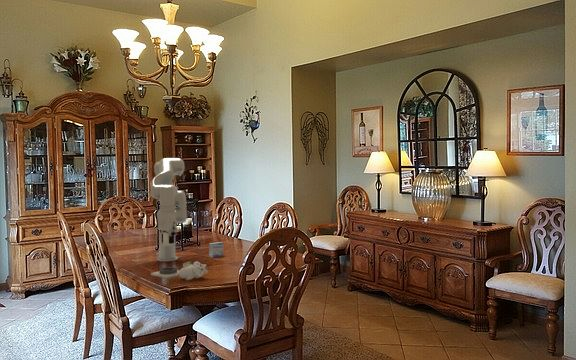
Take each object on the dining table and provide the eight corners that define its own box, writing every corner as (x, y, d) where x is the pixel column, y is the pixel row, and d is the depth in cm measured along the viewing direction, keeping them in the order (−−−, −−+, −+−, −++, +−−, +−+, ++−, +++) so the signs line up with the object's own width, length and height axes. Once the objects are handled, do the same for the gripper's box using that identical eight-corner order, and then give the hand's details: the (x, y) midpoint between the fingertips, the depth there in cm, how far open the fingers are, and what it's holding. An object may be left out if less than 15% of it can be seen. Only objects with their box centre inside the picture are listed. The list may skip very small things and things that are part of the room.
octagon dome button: (150, 274, 273) (150, 269, 273) (169, 270, 284) (169, 265, 284) (167, 278, 266) (167, 273, 266) (185, 273, 276) (185, 268, 276)
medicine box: (212, 257, 317) (212, 244, 317) (208, 256, 321) (208, 242, 320) (223, 256, 322) (223, 242, 321) (220, 255, 325) (219, 241, 325)
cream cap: (161, 245, 273) (161, 232, 273) (168, 244, 277) (168, 231, 277) (167, 246, 270) (167, 233, 270) (174, 244, 275) (174, 232, 274)
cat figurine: (177, 262, 261) (205, 256, 267) (175, 267, 268) (203, 261, 274) (181, 280, 257) (210, 273, 263) (179, 284, 264) (207, 278, 270)
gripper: (151, 208, 275) (151, 242, 276) (173, 210, 265) (173, 245, 266) (162, 207, 281) (162, 240, 282) (183, 209, 271) (184, 243, 272)
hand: (168, 242), depth 274 cm, fingers closed on cream cap, 4 cm apart
